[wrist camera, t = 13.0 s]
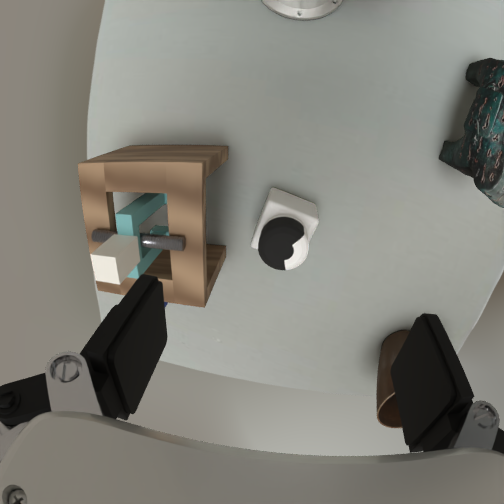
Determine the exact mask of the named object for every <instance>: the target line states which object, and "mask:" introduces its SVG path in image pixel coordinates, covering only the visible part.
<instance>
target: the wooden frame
mask: <svg viewBox="0 0 504 504" xmlns="http://www.w3.org/2000/svg"><path fill="white" fill-rule="evenodd" d="M227 160H228V146H215V145H132V146H127V147H124V148H121V149H118V150H115V151H112V152H109V153H106V154H103V155H100V156H97V157H94V158H92V159H89V160H86V161H84V162H81V163H78V172H79V182H80V191H81V199H82V207H83V214H84V221H85V227H86V233H87V239H88V244H89V250H90V254H91V253H93V252H94V251H95V250H96V249H97V248H98V247H99V246H101V245H102V244H103V243H99V242H93V241H92V232H93V230H94V229H99V230H111V231H117V228H116V220H115V211H114V202H113V192H142V193H166V194H167V208H168V227H169V236H178V237H185V239H186V245H185V249H184V251H174V250H165V249H163V250H162V251H161V252H160V254H159V255H158V256H157V257H156V259H155V260H154V261H153V262H152V263H151V265H150V266H149V267H148V268H147V270H146V271H145V272H144V273H143V274H146V275H152V276H157V277H158V280H159V281H161V282H162V283H163V294H164V302H169V303H176V304H183V305H190V306H197V307H204V308H205V306H206V303H207V301H208V298H209V296H210V294H211V291H212V289H213V286H214V284H215V282H216V279H217V277H218V274H219V272H220V270H221V267H222V265H223V262H224V260H225V258H226V246H222V245H211V244H206V178H207V177H208V176H209V175H210V174H211V173H213V172H214V171H215V170H216V169H217V168H218V167H220V166H221V165H222V164H223V163H224V162H225V161H227ZM94 275H95V274H94ZM136 280H137V279H136V278H129V277H126V278H125V279H124V280H123V282H122V283H121V284H120V285H119V284H113V283H108V282H102V281H96V284H97V288H98V290H99V291H104V292H110V293H115V294H121V295H126V294H127V292H128V291H129V290H130V288H131V287H132V286H133V284H134V283H135V282H136Z"/></svg>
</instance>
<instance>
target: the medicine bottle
mask: <svg viewBox="0 0 504 504" xmlns="http://www.w3.org/2000/svg"><path fill="white" fill-rule="evenodd" d="M318 223H319V217H318V213H317V208H316V205H315V204H314V203H312V202H309V201H307V200H304V199H302V198H299V197H297V196H294V195H292V194H289V193H287V192H284V191H282V190H279V189H277V188H274V187H272V188H271V189H270V192H269V194H268V197H267V199H266V202H265V205H264V207H263V210H262V212H261V215H260V217H259V220H258V222H257V225H256V228H255V231H254V234H253V238H252V241H251V247H252V248H255V249H258V251H259V255H260V257H261V258H262V260H263V261H264V262H265V263H266V264H267V265H268V266H270V267H272V268H274V269H278V270H290V269H293V268H296V267H297V266H299V265H300V264H302V263H303V262H304V260H305V259H306V257H307V255H308V251H309V242H310V240H311V238H312V236H313V234H314V232H315V230H316V228H317V225H318Z"/></svg>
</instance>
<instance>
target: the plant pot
mask: <svg viewBox="0 0 504 504" xmlns="http://www.w3.org/2000/svg"><path fill="white" fill-rule="evenodd" d="M409 332H410V331H407V330H402V331H397V332H395V333H393V334H391V335H390V336H388V337H387V338H386V339H385V341H384V342H383V344H382V348H381V354H380V359H379V366H378V376H377V419H378V421H379V422H380V423H381V424H382V425H384V426H386V427H390V428H402V423H401V418H400V413H399V409H398V404H397V400H396V395H395V391H394V387H393V382H392V378H391V374H390V370H391V366H392V364H393V362H394V360H395V359H396V357H397V355H398V353H399V351H400V350H401V348H402V346H403V344H404V342H405V340H406V338H407V336H408V334H409Z"/></svg>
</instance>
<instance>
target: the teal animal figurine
mask: <svg viewBox="0 0 504 504" xmlns="http://www.w3.org/2000/svg"><path fill="white" fill-rule="evenodd" d="M466 80H467V81H468V82H470V83H471V84H473V85H475V86H479V87H480V88H479V89H478V91H477V94H476V98H475V100H474V102H473V104H472V106H471V108H470V111H469V114H468V116H467V118H466V121H465V123H464V128H465V135H464V136H463V137H462V138H461V139H460V140H458V141H457V142H448V141H445V142H444V146H443V150H442V152H441V154H440V157H439V159H440V160H441V161H443V162H445V163H446V164H448V165H450V166H452V167H453V168H455V169H457V170H459V171H460V172H462V173H463V174H465V175H467V176H471V177H472V178H474V183H475V185H476V187H477V188H478V189H479V190H480V191H481V192H483V193H484V194H485V195H486V196H487V197H488V198H489V199H490V200H491V201H492V202H493V203H495V204H496V205H498V206H500V207H502V208H504V60H496V59H493V58H488V59H484V60H480V61H477V62H475V63H472V64H469V67H468V69H467V72H466Z"/></svg>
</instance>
